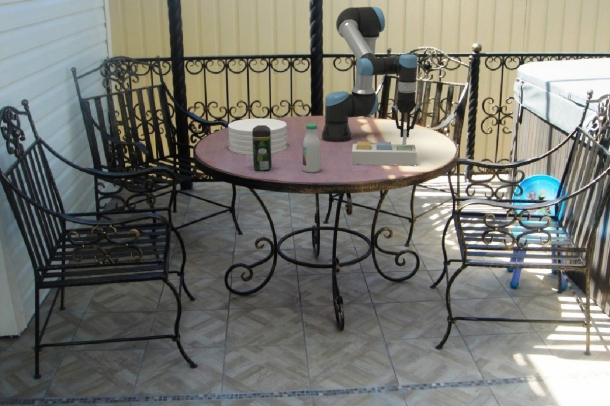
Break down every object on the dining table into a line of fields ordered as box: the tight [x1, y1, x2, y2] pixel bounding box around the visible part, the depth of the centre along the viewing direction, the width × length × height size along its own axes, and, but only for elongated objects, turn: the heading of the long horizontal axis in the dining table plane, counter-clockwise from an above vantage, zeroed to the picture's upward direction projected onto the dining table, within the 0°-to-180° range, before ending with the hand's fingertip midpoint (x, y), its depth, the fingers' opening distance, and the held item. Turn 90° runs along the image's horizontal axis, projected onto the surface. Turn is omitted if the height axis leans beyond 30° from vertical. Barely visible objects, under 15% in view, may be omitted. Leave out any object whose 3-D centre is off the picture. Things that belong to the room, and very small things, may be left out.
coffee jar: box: [252, 125, 273, 172], centre depth 284 cm, size 10×8×19 cm
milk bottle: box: [302, 123, 322, 173], centre depth 281 cm, size 8×8×20 cm
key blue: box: [376, 141, 392, 150], centre depth 295 cm, size 6×6×4 cm
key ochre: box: [356, 141, 372, 150], centre depth 296 cm, size 6×6×4 cm
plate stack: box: [227, 117, 288, 156], centre depth 320 cm, size 28×28×12 cm
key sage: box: [397, 146, 412, 150], centre depth 295 cm, size 6×6×4 cm
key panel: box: [351, 143, 418, 166], centre depth 296 cm, size 28×14×6 cm, turn 85°
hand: (404, 144), depth 294 cm, fingers closed
